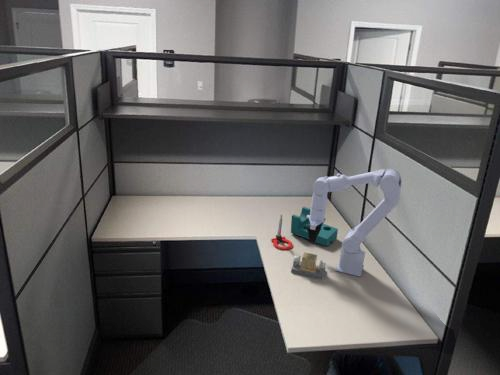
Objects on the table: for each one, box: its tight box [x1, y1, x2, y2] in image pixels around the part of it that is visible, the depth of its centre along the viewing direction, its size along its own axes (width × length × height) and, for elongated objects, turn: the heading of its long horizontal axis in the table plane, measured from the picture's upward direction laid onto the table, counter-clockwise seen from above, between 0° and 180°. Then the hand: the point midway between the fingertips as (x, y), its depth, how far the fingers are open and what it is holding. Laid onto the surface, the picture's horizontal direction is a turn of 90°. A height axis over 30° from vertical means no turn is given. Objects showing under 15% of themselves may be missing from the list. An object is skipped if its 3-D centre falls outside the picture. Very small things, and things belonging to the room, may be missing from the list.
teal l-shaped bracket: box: [290, 206, 339, 247], centre depth 184 cm, size 18×11×10 cm, turn 54°
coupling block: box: [301, 251, 318, 271], centre depth 157 cm, size 5×4×5 cm
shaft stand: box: [290, 254, 327, 281], centre depth 157 cm, size 12×7×6 cm, turn 70°
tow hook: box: [270, 214, 294, 251], centre depth 174 cm, size 8×13×9 cm
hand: (313, 238), depth 164 cm, fingers open, 7 cm apart
